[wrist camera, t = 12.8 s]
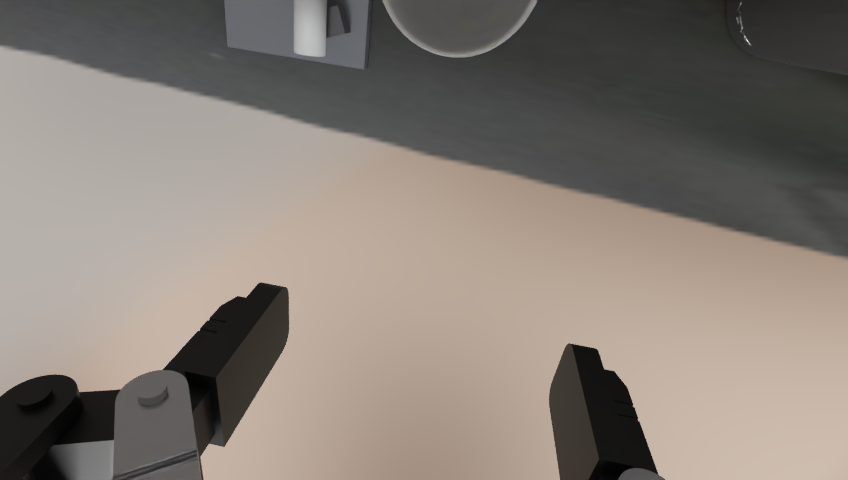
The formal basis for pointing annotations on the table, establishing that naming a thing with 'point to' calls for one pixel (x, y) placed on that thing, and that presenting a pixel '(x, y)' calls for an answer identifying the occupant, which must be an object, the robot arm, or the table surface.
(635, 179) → the table surface
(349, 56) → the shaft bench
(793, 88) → the table surface
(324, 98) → the table surface
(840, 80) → the table surface
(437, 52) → the teacup
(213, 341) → the robot arm
